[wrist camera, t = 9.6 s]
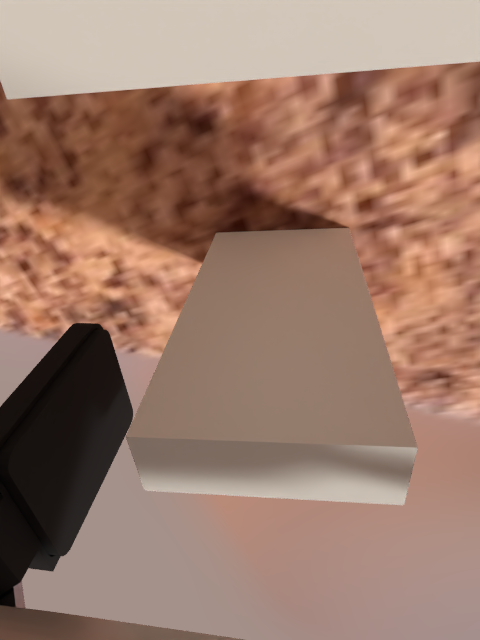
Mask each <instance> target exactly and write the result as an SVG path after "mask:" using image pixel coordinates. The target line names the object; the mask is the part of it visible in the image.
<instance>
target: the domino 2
mask: <svg viewBox="0 0 480 640" xmlns="http://www.w3.org/2000/svg"><path fill="white" fill-rule="evenodd" d="M126 438H127V441H128V445H129V447H130V450H131V453H132V456H133V459H134V462H135V465H136V467H137V470H138V473H139V476H140V479H141V482H142V485H143V488H144V490H145V491H160V492H178V493H196V494H215V495H233V496H250V497H268V498H286V499H303V500H321V501H339V502H356V503H375V504H392V505H404V503H405V499H406V495H407V490H408V486H409V482H410V478H411V474H412V469H413V465H414V461H415V457H416V453H417V449H418V447H417V444H416V440H415V437H414V434H413V431H412V428H411V424H410V421H409V418H408V415H407V412H406V408H405V405H404V402H403V399H402V395H401V392H400V389H399V386H398V383H397V379H396V376H395V373H394V370H393V367H392V363H391V360H390V357H389V354H388V351H387V347H386V344H385V341H384V338H383V335H382V331H381V328H380V325H379V322H378V319H377V315H376V312H375V309H374V306H373V303H372V299H371V296H370V293H369V290H368V286H367V283H366V280H365V277H364V274H363V270H362V267H361V264H360V261H359V258H358V254H357V251H356V248H355V245H354V242H353V238H352V235H351V232H350V229H349V228H327V229H299V230H272V231H245V232H218V233H216V234H215V236H214V239H213V241H212V243H211V245H210V248H209V250H208V252H207V254H206V257H205V259H204V261H203V264H202V266H201V268H200V270H199V273H198V275H197V277H196V279H195V282H194V284H193V286H192V288H191V291H190V293H189V295H188V297H187V300H186V302H185V304H184V307H183V309H182V311H181V313H180V316H179V318H178V320H177V322H176V325H175V327H174V329H173V331H172V334H171V336H170V338H169V340H168V343H167V345H166V347H165V349H164V352H163V354H162V356H161V359H160V361H159V363H158V365H157V368H156V370H155V372H154V374H153V377H152V379H151V381H150V384H149V386H148V388H147V390H146V393H145V395H144V397H143V399H142V402H141V404H140V406H139V408H138V411H137V413H136V415H135V417H134V420H133V422H132V424H131V426H130V429H129V431H128V433H127V435H126Z"/></svg>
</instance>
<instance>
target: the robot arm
mask: <svg viewBox="0 0 480 640" xmlns="http://www.w3.org/2000/svg"><path fill="white" fill-rule="evenodd" d="M132 418H133V409H132V405H131V403H130V399H129V396H128V392H127V389H126V386H125V383H124V379H123V376H122V373H121V369H120V366H119V363H118V360H117V356H116V353H115V350H114V347H113V343H112V340H111V337H110V334H109V332H108V331H107V330H103V328H102V326H101V325H99V324H90V323H76V324H73V325H72V326H71V327H70V328H69V329H68V330H67V331H66V332H65V334H64V335H63V336H62V337H61V338H60V339H59V340H58V342H57V343H56V344H55V345H54V346H53V347H52V348H51V350H50V351H49V352H48V353H47V354H46V355H45V356H44V358H43V359H42V360H41V361H40V362H39V363H38V364H37V366H36V367H35V368H34V369H33V370H32V371H31V373H30V374H29V375H28V376H27V377H26V378H25V379H24V381H23V382H22V383H21V384H20V385H19V386H18V387H17V388H16V390H15V391H14V392H13V393H12V394H11V395H10V396H9V398H8V399H7V400H6V401H5V402H4V403H3V404H2V406H1V407H0V640H243V639H236V638H229V637H222V636H216V635H209V634H202V633H195V632H188V631H182V630H174V629H168V628H161V627H153V626H147V625H140V624H133V623H126V622H119V621H112V620H105V619H98V618H92V617H84V616H78V615H70V614H64V613H57V612H50V611H42V610H33V609H25V602H24V595H23V587H22V578H23V577H24V575H25V573H26V571H27V569H28V568H31V569H39V570H47V571H53V570H54V568H55V566H56V564H57V562H58V560H59V558H60V556H64V555H66V554H67V552H68V551H69V550H70V548H71V547H72V544H73V542H74V540H75V538H76V536H77V534H78V532H79V530H80V528H81V526H82V524H83V522H84V520H85V518H86V516H87V514H88V511H89V509H90V507H91V505H92V503H93V501H94V499H95V497H96V495H97V493H98V491H99V489H100V487H101V484H102V483H103V480H104V478H105V476H106V474H107V472H108V470H109V468H110V466H111V464H112V462H113V459H114V458H115V456H116V454H117V452H118V449H119V447H120V445H121V443H122V441H123V439H124V437H125V435H126V433H127V431H128V429H129V427H130V425H131V422H132Z"/></svg>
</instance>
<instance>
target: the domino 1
mask: <svg viewBox="0 0 480 640" xmlns="http://www.w3.org/2000/svg"><path fill="white" fill-rule="evenodd" d="M478 61H480V0H0V81H1V84H2V87H3V90H4V93H5V95H6V98H7V100H8V99H20V98H32V97H45V96H57V95H70V94H82V93H94V92H107V91H119V90H132V89H144V88H156V87H169V86H181V85H193V84H206V83H218V82H231V81H243V80H255V79H268V78H280V77H293V76H305V75H317V74H330V73H342V72H355V71H367V70H379V69H392V68H404V67H417V66H429V65H441V64H454V63H466V62H478Z"/></svg>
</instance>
